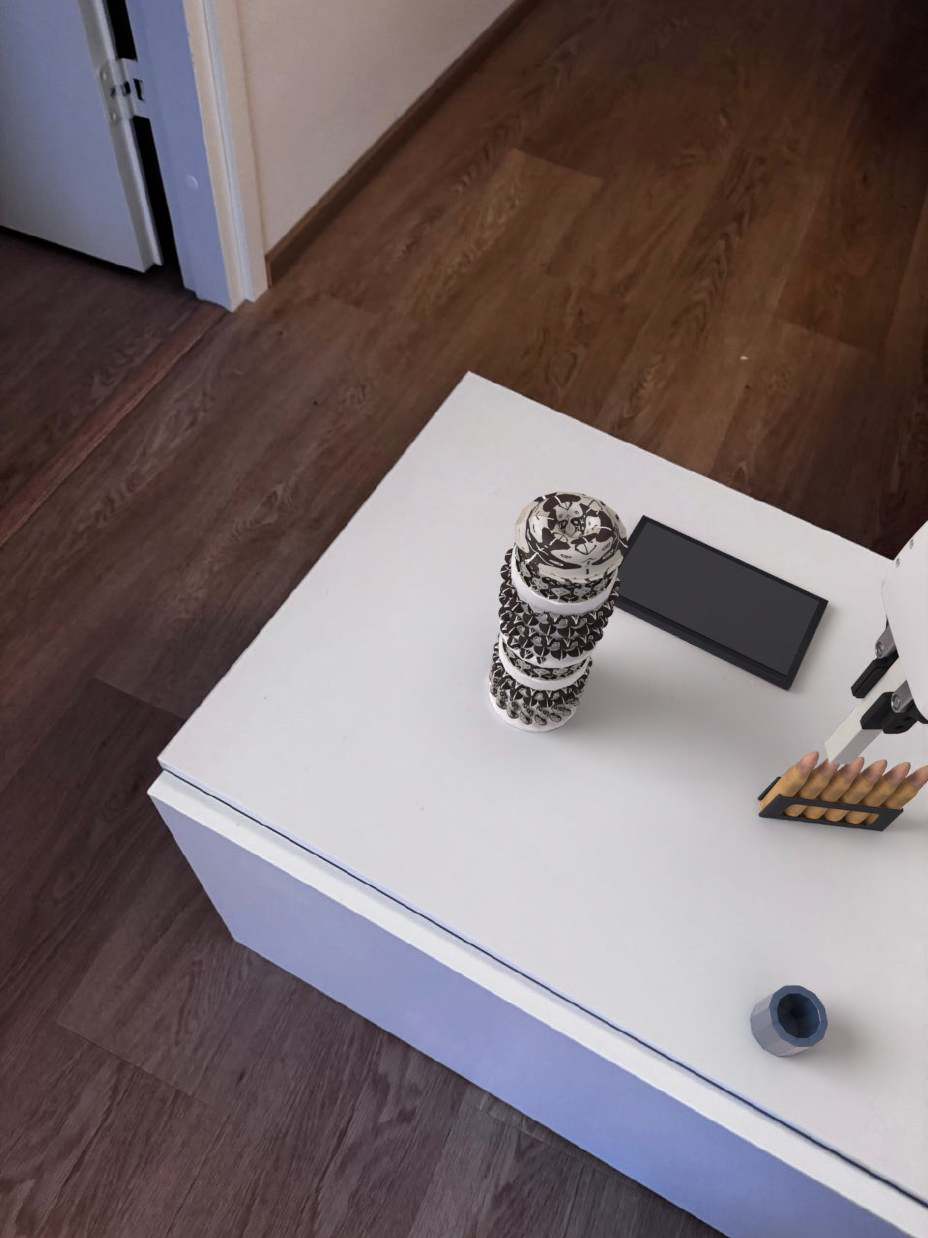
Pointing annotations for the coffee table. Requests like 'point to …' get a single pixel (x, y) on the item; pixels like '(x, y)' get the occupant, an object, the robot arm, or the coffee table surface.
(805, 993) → the holder
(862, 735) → the stylus
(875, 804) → the ammunition clip
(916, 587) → the robot arm
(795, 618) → the tablet
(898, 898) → the coffee table surface
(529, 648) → the decorative candle
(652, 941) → the coffee table surface
